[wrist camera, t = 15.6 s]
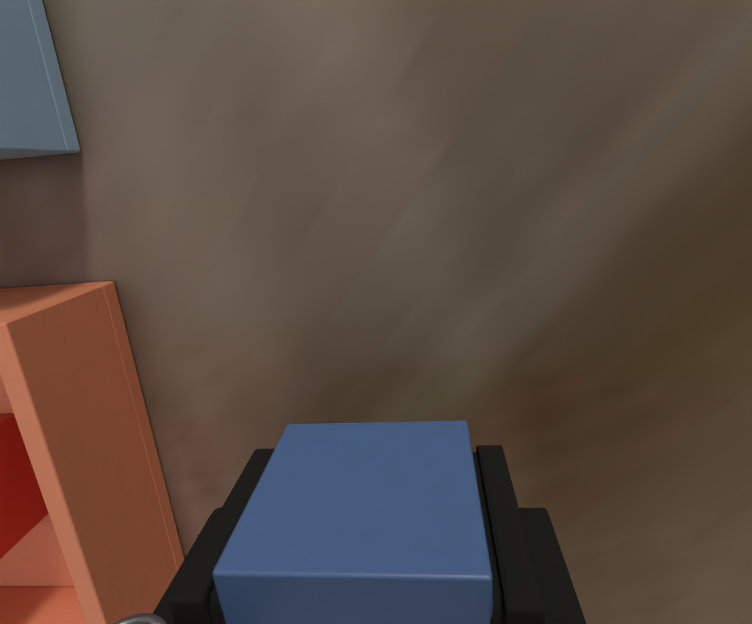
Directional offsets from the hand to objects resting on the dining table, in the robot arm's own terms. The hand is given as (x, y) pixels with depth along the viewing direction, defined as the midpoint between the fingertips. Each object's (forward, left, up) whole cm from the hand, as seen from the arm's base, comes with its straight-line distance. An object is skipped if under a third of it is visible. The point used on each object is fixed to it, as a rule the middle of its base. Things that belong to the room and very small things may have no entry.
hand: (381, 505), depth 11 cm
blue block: (0, 0, 0) cm, 0 cm away
